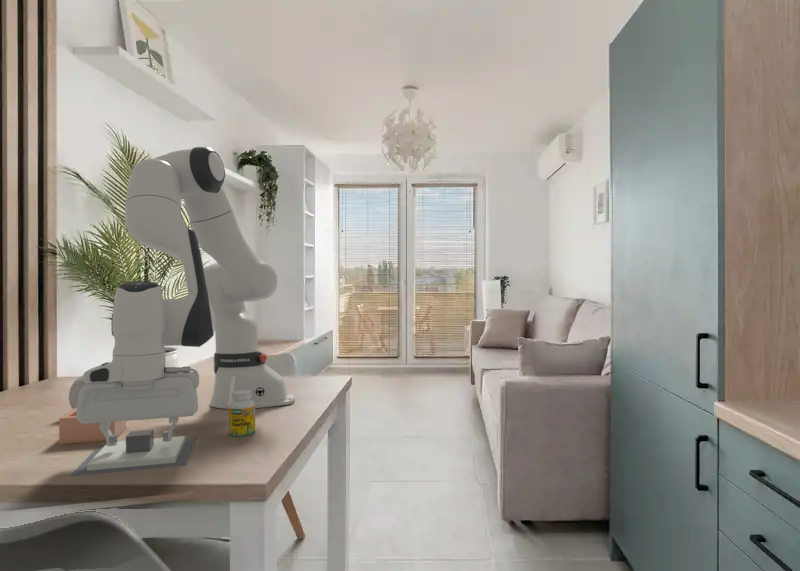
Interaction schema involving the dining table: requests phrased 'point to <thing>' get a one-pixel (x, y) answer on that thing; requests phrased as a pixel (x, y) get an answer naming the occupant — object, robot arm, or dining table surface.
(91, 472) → the mat
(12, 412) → the dining table surface
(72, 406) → the donut
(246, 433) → the supplement bottle
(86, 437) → the orange open box
